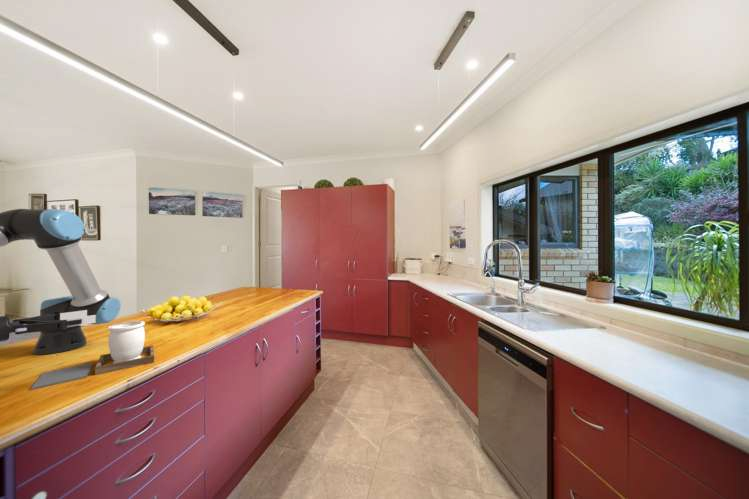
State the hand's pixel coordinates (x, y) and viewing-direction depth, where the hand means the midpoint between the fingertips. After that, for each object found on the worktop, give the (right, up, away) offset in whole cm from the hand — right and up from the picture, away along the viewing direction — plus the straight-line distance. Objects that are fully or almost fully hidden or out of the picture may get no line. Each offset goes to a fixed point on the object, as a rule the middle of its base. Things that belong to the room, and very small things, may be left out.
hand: (91, 316), depth 95 cm
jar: (+5, -21, +8) cm, 23 cm away
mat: (-6, -20, -3) cm, 21 cm away
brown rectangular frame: (+5, -20, +8) cm, 23 cm away
